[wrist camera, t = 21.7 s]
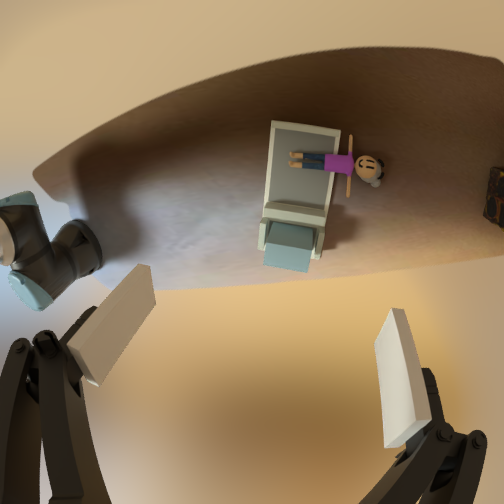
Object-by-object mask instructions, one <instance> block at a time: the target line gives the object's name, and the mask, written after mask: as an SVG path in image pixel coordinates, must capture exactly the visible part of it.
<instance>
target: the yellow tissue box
mask: <svg viewBox="0 0 504 504" xmlns="http://www.w3.org/2000/svg"><path fill="white" fill-rule="evenodd" d="M486 199H487V203H486V206H485V209H484V213H483V216H484V217H485V218H486V219H488V220H490V222H491V223H493V224H495V225H497V226H499V227H500V228H501V229H502V231H503V232H504V170H500V169H496V168H494V167H493V168H491V171H490V180H489V184H488V190H487V197H486Z"/></svg>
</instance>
